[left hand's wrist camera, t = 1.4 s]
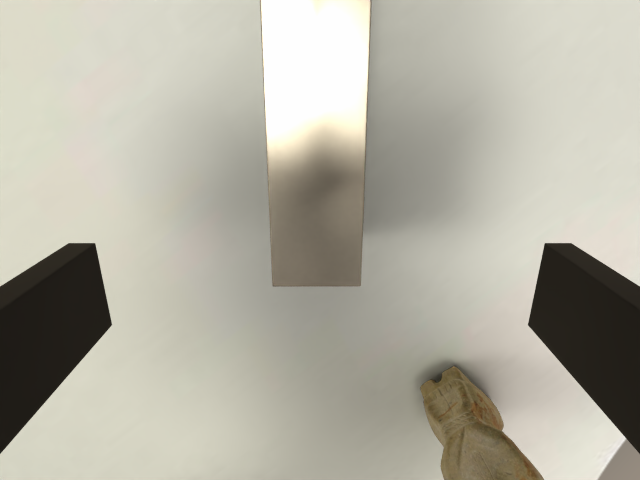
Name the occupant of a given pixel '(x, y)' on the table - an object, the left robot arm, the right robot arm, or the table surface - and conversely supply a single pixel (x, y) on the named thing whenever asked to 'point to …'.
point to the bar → (316, 137)
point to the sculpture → (472, 432)
